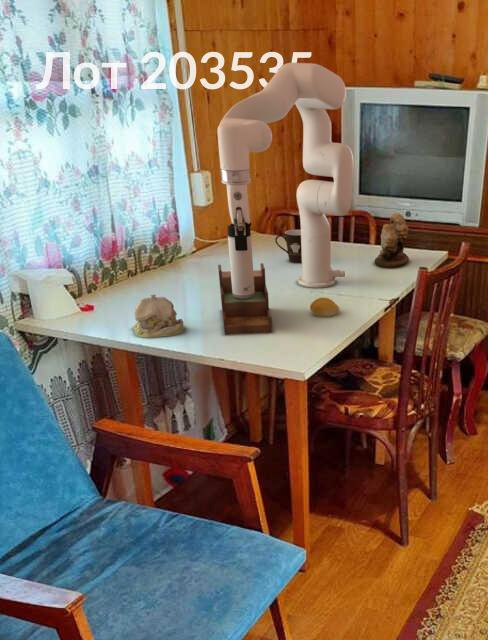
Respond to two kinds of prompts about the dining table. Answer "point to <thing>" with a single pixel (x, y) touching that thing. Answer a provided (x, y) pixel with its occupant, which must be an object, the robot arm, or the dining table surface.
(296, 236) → the coffee mug
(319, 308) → the bread roll
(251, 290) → the travel mug
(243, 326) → the step rack
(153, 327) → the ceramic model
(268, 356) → the dining table surface
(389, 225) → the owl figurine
